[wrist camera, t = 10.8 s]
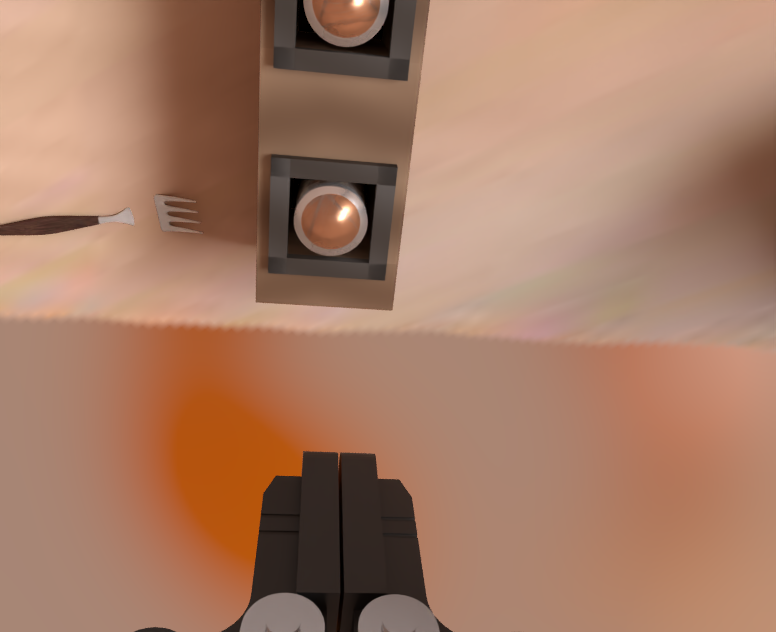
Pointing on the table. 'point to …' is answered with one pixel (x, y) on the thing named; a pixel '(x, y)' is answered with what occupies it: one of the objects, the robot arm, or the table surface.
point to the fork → (98, 220)
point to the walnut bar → (335, 150)
